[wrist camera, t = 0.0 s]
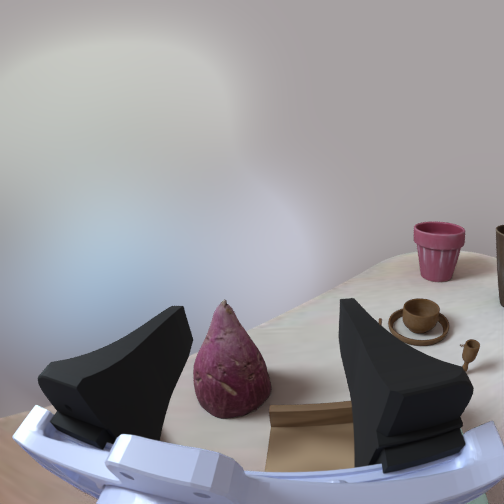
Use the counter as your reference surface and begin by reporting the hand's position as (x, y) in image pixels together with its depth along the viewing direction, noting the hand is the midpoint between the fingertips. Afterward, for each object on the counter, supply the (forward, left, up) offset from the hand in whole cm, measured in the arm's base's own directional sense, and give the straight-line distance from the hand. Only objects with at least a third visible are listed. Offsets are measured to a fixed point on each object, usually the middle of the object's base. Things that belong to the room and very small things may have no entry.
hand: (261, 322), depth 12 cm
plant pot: (+52, -38, -22) cm, 68 cm away
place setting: (+26, -22, -22) cm, 41 cm away
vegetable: (+17, +8, -22) cm, 29 cm away
